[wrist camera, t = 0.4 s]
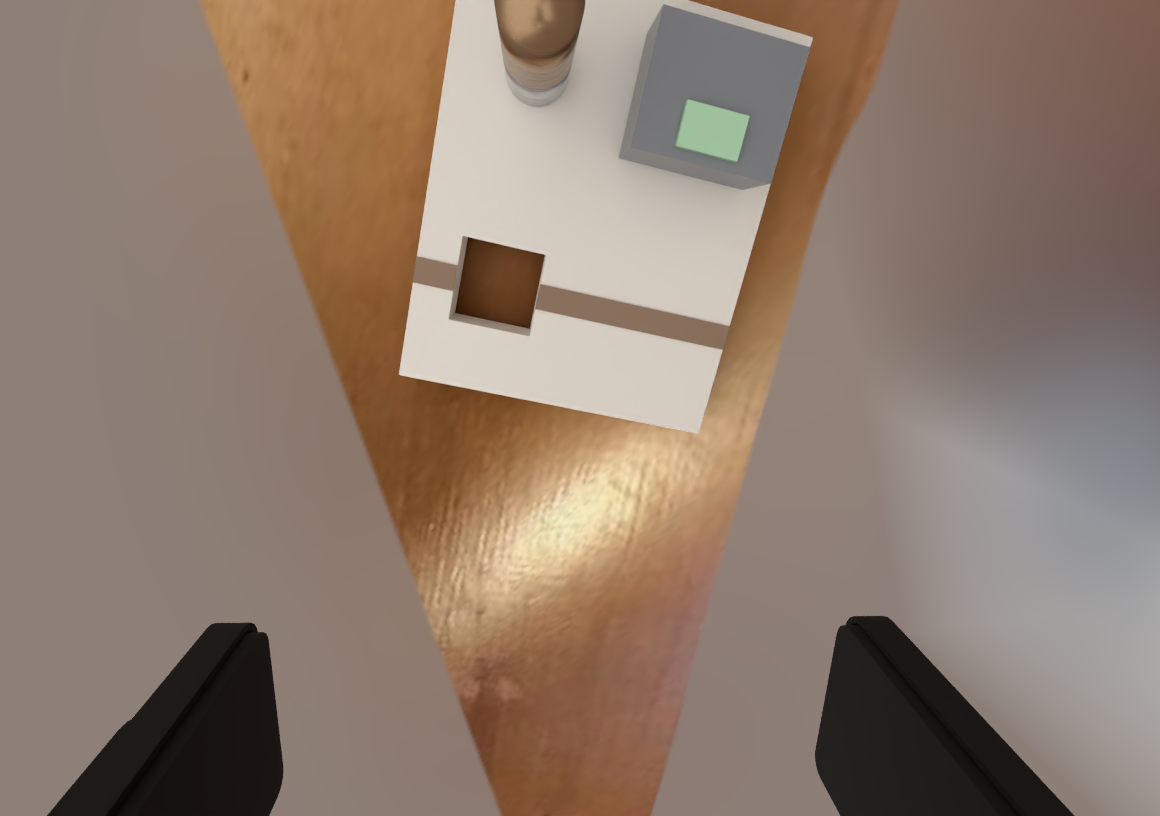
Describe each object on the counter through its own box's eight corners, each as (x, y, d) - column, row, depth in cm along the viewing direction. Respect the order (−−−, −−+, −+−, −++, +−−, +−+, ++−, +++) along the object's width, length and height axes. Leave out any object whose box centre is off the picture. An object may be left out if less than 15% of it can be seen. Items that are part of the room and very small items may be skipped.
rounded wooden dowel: (512, 29, 30) (502, -69, 20) (574, 46, 30) (594, -41, 21) (500, 98, 31) (486, 35, 21) (561, 114, 31) (574, 59, 22)
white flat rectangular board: (472, -39, 32) (465, -67, 29) (789, 54, 34) (813, 36, 31) (409, 364, 37) (398, 375, 34) (686, 419, 40) (698, 434, 37)
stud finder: (646, 33, 30) (665, 0, 26) (775, 70, 31) (814, 44, 27) (618, 158, 32) (631, 146, 28) (742, 189, 33) (773, 183, 29)
